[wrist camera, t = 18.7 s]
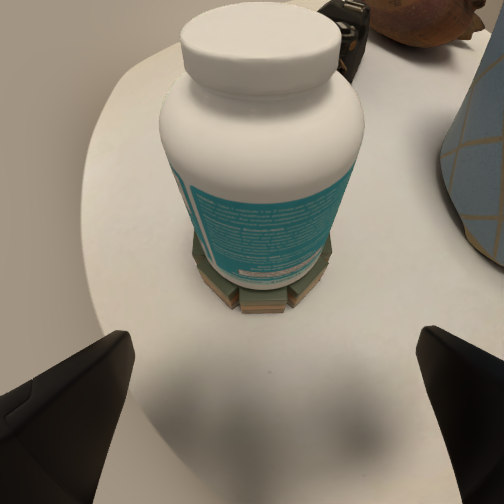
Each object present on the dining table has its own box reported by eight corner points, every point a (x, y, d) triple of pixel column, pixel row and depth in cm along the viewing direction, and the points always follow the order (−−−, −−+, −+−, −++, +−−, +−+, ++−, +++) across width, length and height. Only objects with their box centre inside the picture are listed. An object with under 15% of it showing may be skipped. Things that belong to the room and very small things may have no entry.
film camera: (274, 33, 36) (275, -26, 27) (359, 44, 35) (370, -13, 26) (262, 103, 29) (262, 18, 20) (380, 119, 28) (406, 41, 19)
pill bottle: (344, 230, 19) (424, 40, 7) (270, 319, 17) (294, 148, 5) (255, 169, 21) (249, -19, 9) (178, 241, 19) (89, 51, 7)
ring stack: (263, 339, 20) (264, 331, 17) (178, 255, 23) (166, 235, 20) (344, 253, 22) (356, 232, 19) (260, 185, 25) (259, 158, 22)
